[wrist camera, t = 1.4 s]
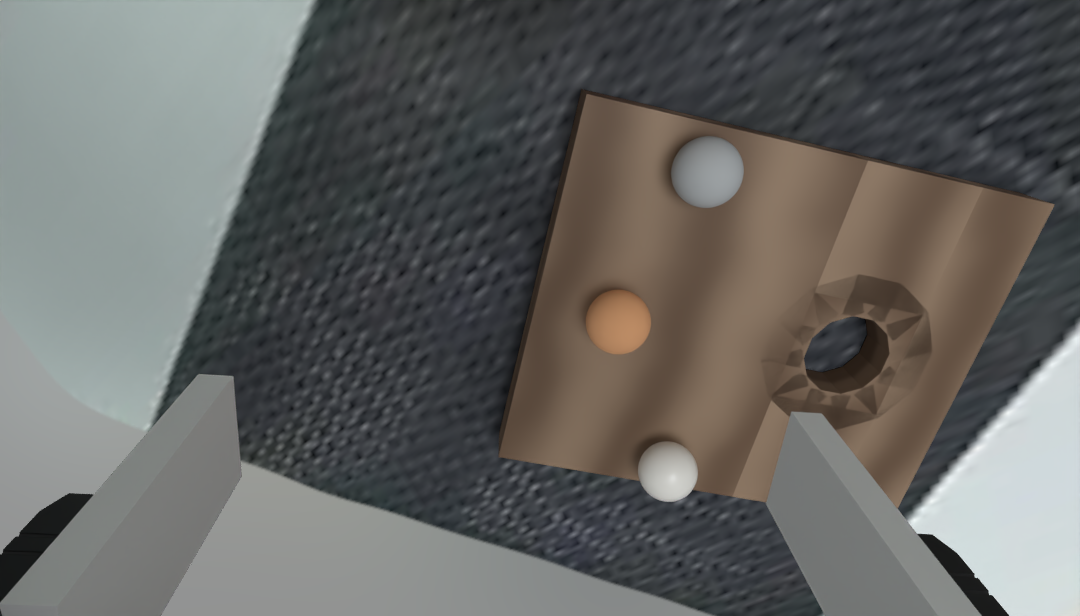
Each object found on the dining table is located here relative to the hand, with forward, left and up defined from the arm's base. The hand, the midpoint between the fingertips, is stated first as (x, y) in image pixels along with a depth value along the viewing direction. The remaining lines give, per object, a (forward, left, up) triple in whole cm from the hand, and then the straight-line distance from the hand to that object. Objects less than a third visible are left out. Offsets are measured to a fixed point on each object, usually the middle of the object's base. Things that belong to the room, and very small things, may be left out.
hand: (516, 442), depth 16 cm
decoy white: (+11, -11, -17) cm, 23 cm away
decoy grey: (+8, +5, -17) cm, 19 cm away
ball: (+6, -3, -17) cm, 18 cm away
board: (+14, -3, -21) cm, 25 cm away
